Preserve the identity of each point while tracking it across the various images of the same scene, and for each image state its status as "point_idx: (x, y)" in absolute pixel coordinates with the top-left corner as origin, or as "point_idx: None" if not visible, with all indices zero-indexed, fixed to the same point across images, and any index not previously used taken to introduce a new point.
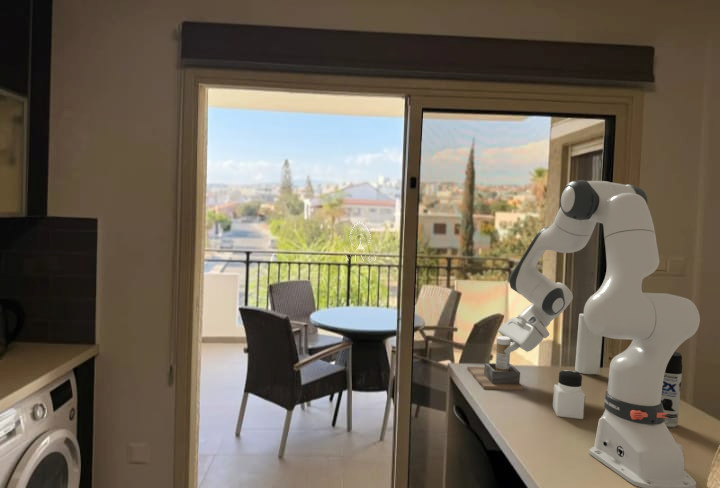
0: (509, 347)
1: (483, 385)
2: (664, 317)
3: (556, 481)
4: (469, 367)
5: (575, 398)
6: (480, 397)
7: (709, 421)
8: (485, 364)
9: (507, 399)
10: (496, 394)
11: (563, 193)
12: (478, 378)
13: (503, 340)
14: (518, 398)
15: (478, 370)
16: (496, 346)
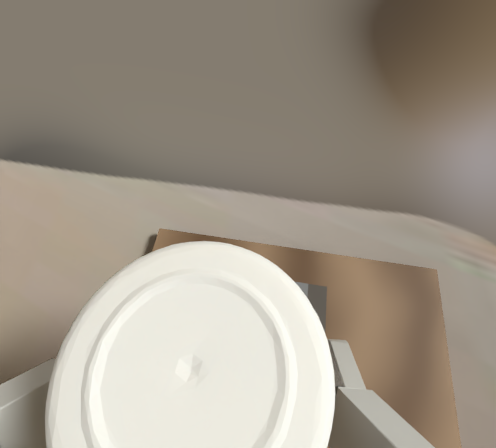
0: (32, 374)
1: (164, 229)
2: None
3: None
4: (423, 273)
5: None
6: (88, 186)
7: None
8: (311, 285)
9: (30, 276)
10: (94, 257)
11: None
12: (253, 246)
13: (92, 301)
14: (18, 335)
15: (378, 301)
16: (340, 344)
